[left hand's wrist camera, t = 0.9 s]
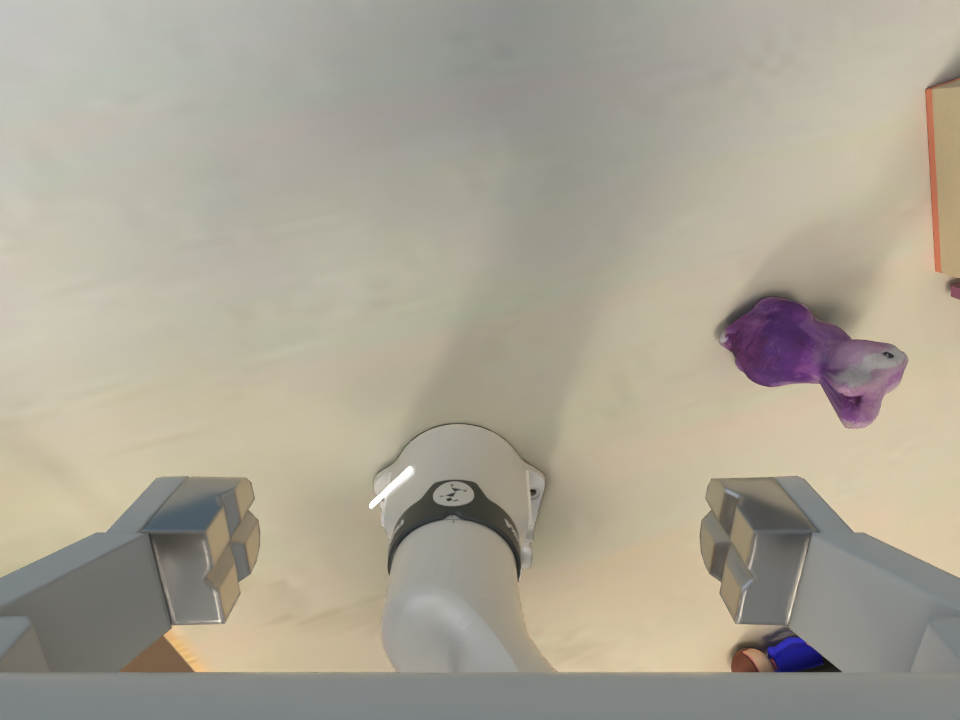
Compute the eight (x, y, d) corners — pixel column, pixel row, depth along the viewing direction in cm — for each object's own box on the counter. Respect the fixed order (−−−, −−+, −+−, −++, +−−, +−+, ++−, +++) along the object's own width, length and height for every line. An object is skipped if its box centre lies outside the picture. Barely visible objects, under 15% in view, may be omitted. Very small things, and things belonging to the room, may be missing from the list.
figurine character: (834, 602, 73) (719, 641, 73) (879, 651, 66) (752, 694, 66) (839, 641, 75) (728, 678, 75) (883, 692, 68) (761, 733, 68)
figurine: (847, 329, 58) (962, 393, 44) (760, 394, 61) (843, 474, 47) (794, 261, 56) (898, 307, 42) (706, 332, 58) (777, 398, 44)
